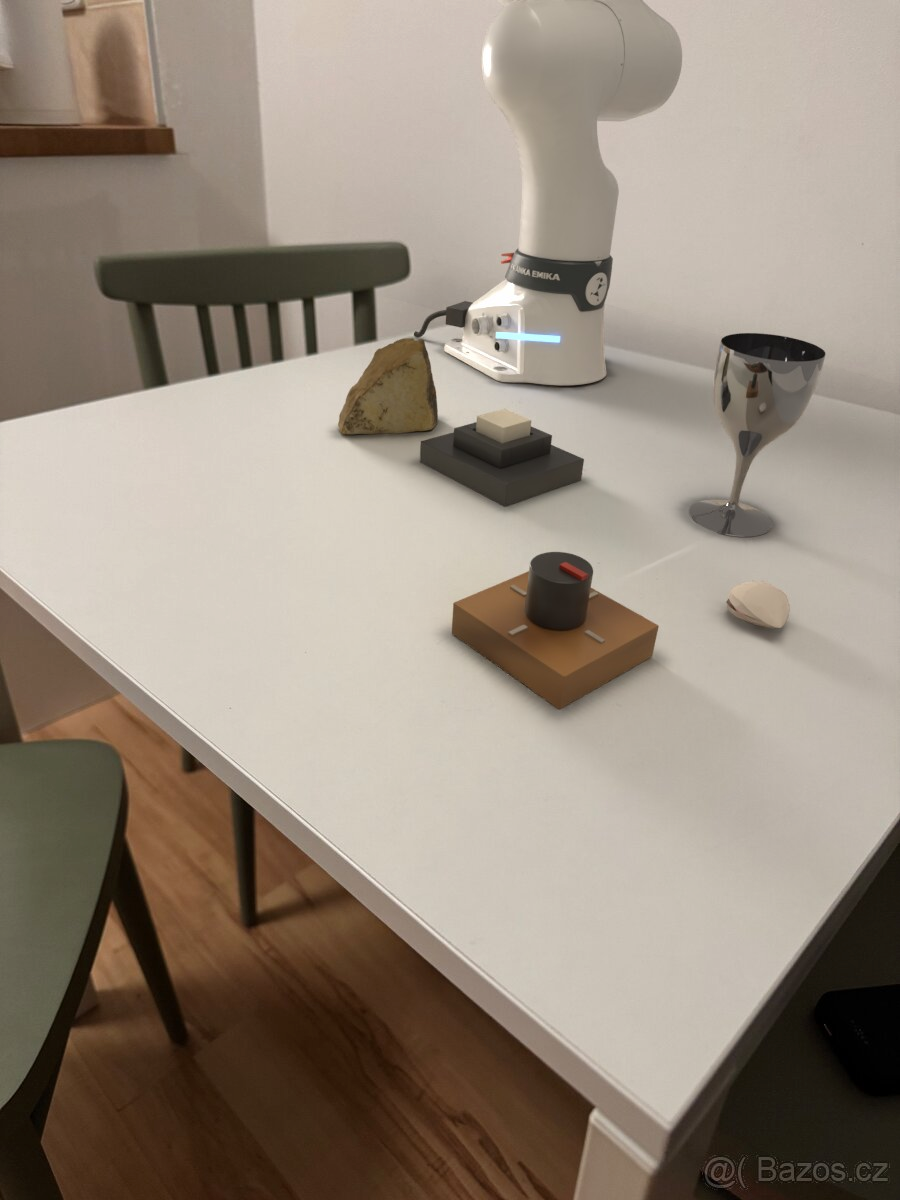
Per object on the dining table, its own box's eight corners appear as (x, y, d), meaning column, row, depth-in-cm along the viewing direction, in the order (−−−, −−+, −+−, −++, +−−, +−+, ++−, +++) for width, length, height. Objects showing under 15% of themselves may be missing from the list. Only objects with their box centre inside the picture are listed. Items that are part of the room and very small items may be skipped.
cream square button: (475, 433, 78) (476, 415, 77) (503, 426, 80) (504, 408, 79) (501, 445, 76) (503, 427, 75) (529, 437, 78) (531, 419, 77)
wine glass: (666, 504, 76) (700, 335, 68) (737, 493, 78) (778, 330, 70) (720, 544, 69) (765, 364, 61) (796, 531, 72) (848, 357, 64)
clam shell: (769, 602, 62) (778, 573, 61) (803, 641, 58) (813, 610, 57) (714, 605, 61) (722, 575, 60) (745, 644, 57) (754, 613, 56)
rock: (321, 423, 82) (421, 420, 80) (325, 338, 83) (423, 333, 81) (354, 453, 93) (442, 451, 91) (356, 378, 94) (444, 374, 92)
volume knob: (511, 609, 55) (517, 559, 53) (554, 590, 57) (560, 541, 55) (556, 637, 52) (563, 585, 50) (598, 616, 55) (607, 566, 53)
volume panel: (451, 633, 57) (453, 600, 55) (543, 592, 62) (547, 560, 60) (559, 709, 50) (564, 674, 49) (652, 656, 55) (659, 623, 54)
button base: (419, 462, 81) (420, 422, 79) (494, 440, 87) (497, 403, 85) (505, 507, 74) (509, 464, 71) (581, 480, 79) (587, 440, 77)
